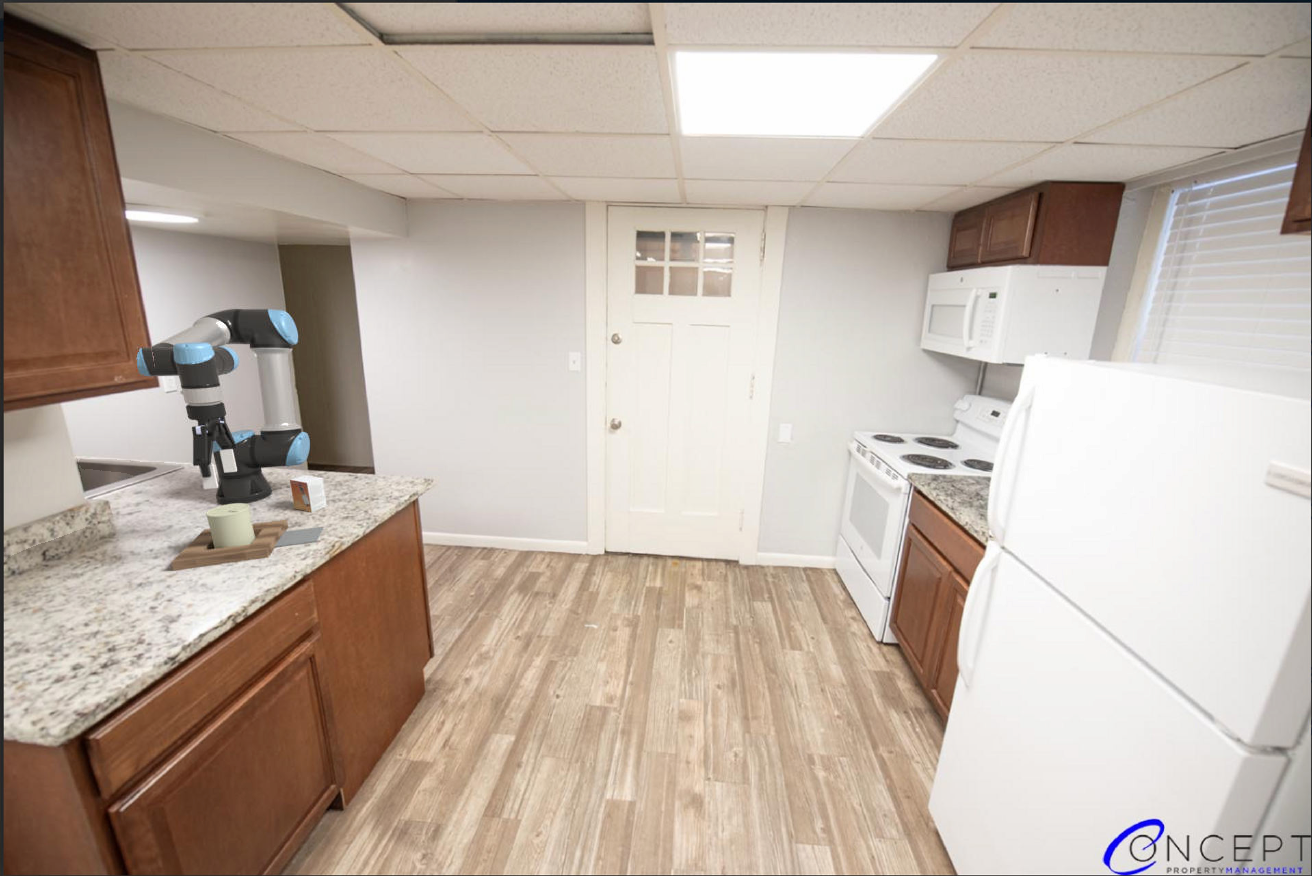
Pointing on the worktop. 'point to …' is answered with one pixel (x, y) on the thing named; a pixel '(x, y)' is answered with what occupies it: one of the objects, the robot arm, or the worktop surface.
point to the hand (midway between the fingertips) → (221, 479)
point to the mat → (299, 536)
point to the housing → (206, 555)
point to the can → (231, 525)
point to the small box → (308, 493)
